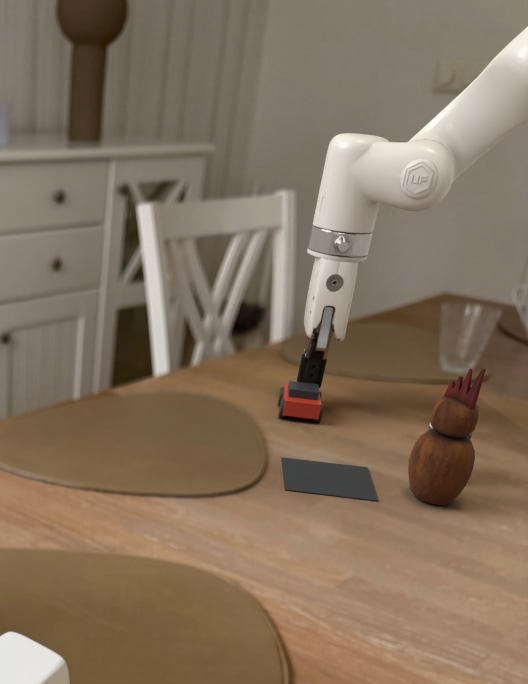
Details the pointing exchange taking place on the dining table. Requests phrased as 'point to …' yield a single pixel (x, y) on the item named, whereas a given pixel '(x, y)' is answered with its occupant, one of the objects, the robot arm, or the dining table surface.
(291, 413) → the toy car
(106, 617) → the dining table surface
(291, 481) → the mat
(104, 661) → the dining table surface
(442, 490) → the wooden figurine
